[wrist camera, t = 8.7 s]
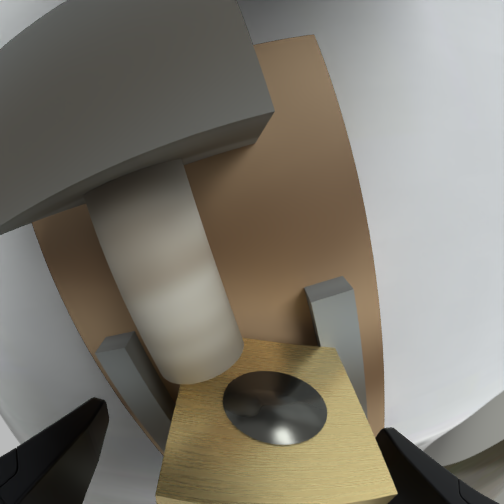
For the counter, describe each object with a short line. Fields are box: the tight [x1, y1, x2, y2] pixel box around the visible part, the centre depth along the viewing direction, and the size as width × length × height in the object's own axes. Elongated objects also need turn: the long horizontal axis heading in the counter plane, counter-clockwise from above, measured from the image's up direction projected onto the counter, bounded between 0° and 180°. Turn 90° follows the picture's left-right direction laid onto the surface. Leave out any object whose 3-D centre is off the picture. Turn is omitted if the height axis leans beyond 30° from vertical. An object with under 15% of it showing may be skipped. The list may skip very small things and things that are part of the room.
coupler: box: [155, 338, 398, 504], centre depth 6 cm, size 6×4×5 cm, turn 170°
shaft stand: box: [0, 0, 384, 456], centre depth 8 cm, size 21×10×6 cm, turn 16°
